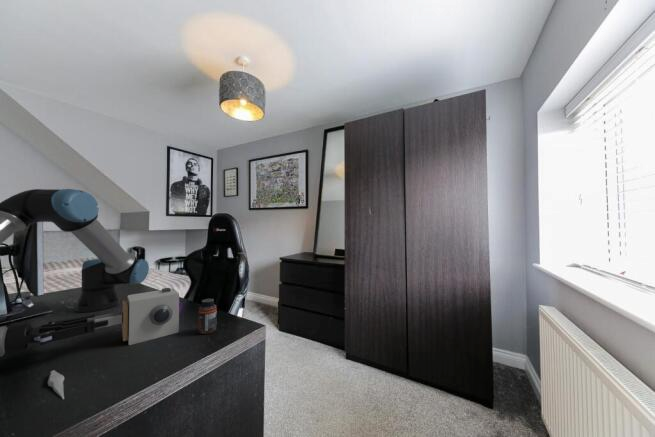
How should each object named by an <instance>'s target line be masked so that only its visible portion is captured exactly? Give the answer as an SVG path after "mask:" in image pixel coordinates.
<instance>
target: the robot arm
mask: <svg viewBox="0 0 655 437" xmlns="http://www.w3.org/2000/svg"><path fill="white" fill-rule="evenodd" d="M98 205H99V204H98V201H97V200H96V198H95V197H94V196H93V195H92V194H91V193H88V192H87V191H84V190H81V189H75V188H62V189H49V188H48V189H45V188H38V189H37V188H34V189H29V190H23V191H21V192H19V193H16V194H13V195H11V196H10V197H7V198H6V199H4V200H3V201H1V202H0V245H2V243H4V242H5V241H6V240H8V239H9V238H10V237H11V236H12V235H13V234H15V233H16V232H21V231H24V230H25V229H27V228H28V227H29V226H31V225H34V224H36V223H52V224H54V225H55V226H56V227H57V228H59V229H60V231H62V232H65V233H66V232H67V233H71V234H72V235H74V236H75V238H77V240H79V242H81V243H82V244H83V245H84V246H85V247H86V248H87V249H88V250H89V251H90V252H91V253H93V255H95V257H97V258H94V259H88V260H84V261H83V263H82V266H81V293H80V296H79V298H78V300H77V302H76V304H75V312H77V313H90V312H97V311H103V310H106V309H110V308H115V307H117V306H118V305H119V304H120V297H119V295H118V292H117V290H116V285H131V286H132V285H139V284H141V283H143V282H144V281H145V280H146V279H147V276H148V274H149V269H150V267H149V266H150V265H149V262H148V261H147V260H146V259H143V258H141V259H138V258H137V257H136V256H135V255H134V254H133V253H132V252H126V250H125V249H124V248H123V247H122V246H121V245H120V244H119V243H118V242H117V240H116V239H115V238H114V237H113V236H112V235H111V234H110V233H109V231H108V230H107V229H106V228H105V227H104V226H103V225H102V223H101V222H100V221H99V220H98V217H99V211H100V210H99V207H98ZM119 312H120V311H118V312H117V313H119ZM114 313H115V312H114ZM114 313H112V314H114ZM109 314H110V313H109ZM109 314H107V315H109ZM103 315H104V314H103ZM103 315H101V316H103ZM93 317H98V316H96V315H95V314H94V313H93V314H91V315H87V316H82V317H77V318H76V317H75V318H68V319H63V320H55V321H49V322H48V323H45V324H41V326H37V327H32V326H33V325H32V323H31V322H21V323H16V324H11V325H9V327H7V326H5V325H4V326H0V357H3V356H4V355H7V356H9V355H13V354H19V353H24V352H26V351H28V350H29V349H30V346H31V344H34V343H35V344H36V343H39V346H43V345H46V344H51V343H53V342H57V341H60V340H64V339H69V338H73V337H77V336H81V335H85V334H89V333H90V334H93V333H94V332H95V330H98V329H102V328H105V327H106V328H107V327H110V326H116V325H119V324H121V325H122V315H116V316H111V317H106V318H101V319H96V320H95V322H94V321H91V322H87V319H88V318H93Z"/></svg>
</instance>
